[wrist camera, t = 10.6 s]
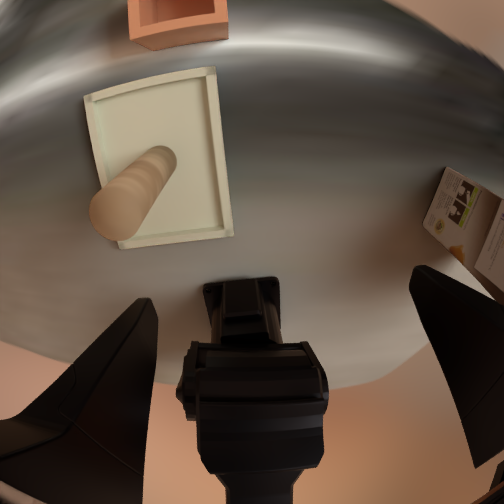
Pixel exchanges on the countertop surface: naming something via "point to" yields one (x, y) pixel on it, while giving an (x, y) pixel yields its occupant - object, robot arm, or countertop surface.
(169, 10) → the orange open box
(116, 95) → the tray
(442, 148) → the countertop surface
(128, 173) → the pin
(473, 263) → the coffee box
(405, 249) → the countertop surface
